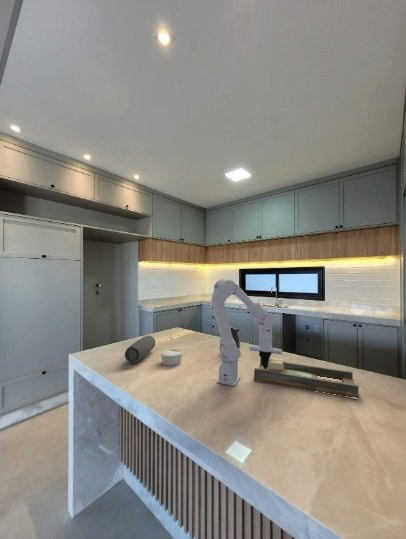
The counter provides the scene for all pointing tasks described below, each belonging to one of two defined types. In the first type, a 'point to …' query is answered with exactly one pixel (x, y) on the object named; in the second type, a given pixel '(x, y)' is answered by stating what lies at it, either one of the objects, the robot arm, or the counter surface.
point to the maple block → (276, 365)
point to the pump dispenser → (235, 336)
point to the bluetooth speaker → (139, 349)
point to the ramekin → (171, 357)
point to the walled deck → (309, 378)
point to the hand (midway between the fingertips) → (265, 367)
